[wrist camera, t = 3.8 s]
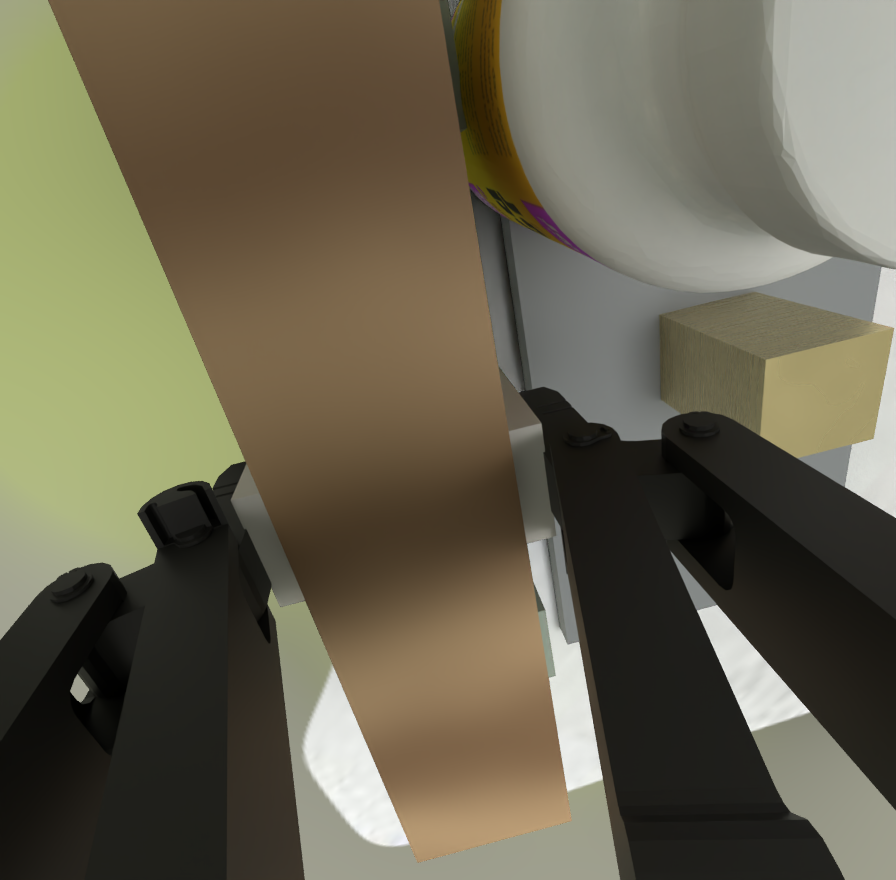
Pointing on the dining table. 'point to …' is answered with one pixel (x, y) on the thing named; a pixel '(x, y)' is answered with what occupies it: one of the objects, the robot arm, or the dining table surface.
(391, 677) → the long wooden bar
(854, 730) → the robot arm
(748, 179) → the supplement bottle
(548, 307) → the slate board
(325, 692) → the dining table surface
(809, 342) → the wooden block
